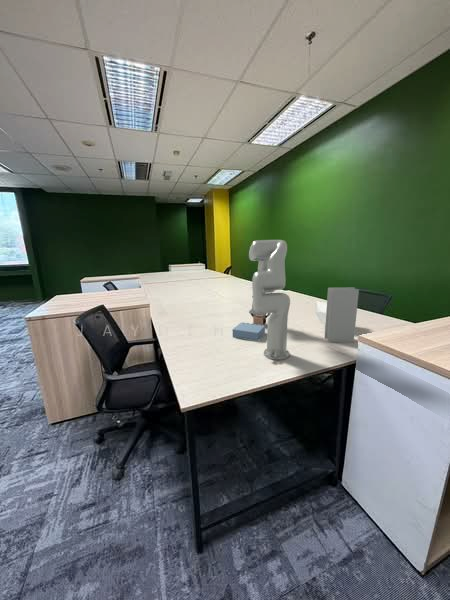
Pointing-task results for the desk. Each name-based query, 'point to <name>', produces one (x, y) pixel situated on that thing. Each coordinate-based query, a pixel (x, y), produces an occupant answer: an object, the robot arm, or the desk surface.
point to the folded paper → (321, 311)
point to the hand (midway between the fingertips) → (259, 323)
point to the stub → (258, 319)
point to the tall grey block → (341, 314)
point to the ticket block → (249, 331)
